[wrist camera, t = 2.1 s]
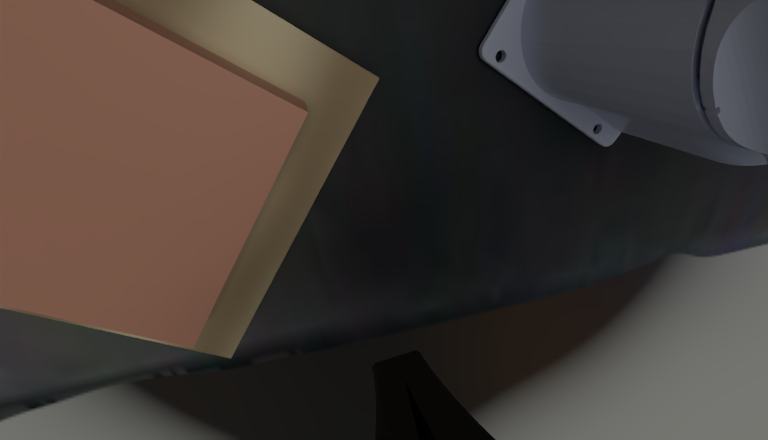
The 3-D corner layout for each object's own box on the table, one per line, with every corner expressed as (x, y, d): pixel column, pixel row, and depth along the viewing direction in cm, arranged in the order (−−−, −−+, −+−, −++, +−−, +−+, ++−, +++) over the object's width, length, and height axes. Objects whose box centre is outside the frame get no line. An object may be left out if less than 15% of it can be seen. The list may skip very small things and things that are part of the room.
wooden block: (363, 69, 17) (379, 78, 14) (237, 316, 21) (231, 358, 18) (-62, -189, 11) (-168, -255, 8) (-127, 220, 15) (-213, 261, 12)
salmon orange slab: (304, 101, 14) (308, 112, 12) (202, 314, 17) (193, 347, 15) (33, -43, 11) (-15, -56, 9) (-38, 252, 13) (-85, 286, 12)
